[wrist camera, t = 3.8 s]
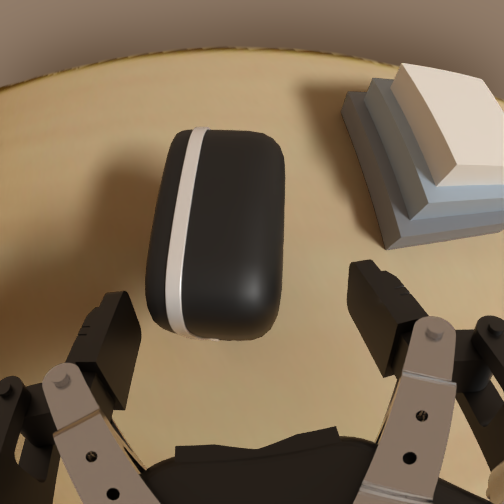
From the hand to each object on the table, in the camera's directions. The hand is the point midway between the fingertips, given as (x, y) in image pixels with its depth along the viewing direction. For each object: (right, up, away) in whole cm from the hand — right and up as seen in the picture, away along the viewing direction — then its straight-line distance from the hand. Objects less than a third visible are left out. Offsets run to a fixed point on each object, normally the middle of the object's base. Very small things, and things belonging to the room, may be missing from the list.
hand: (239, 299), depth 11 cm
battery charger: (0, -1, +8) cm, 8 cm away
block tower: (+14, +8, +11) cm, 20 cm away
